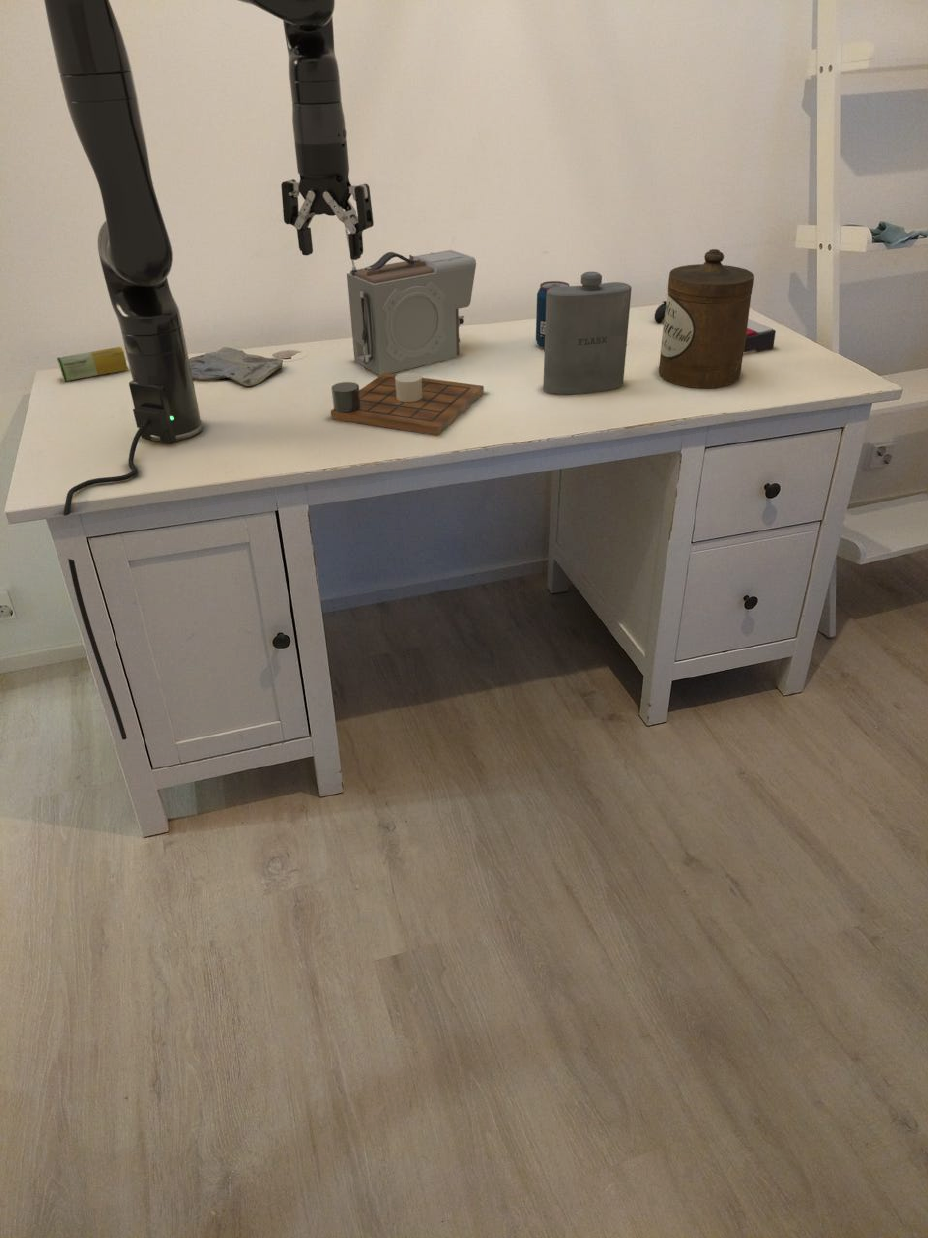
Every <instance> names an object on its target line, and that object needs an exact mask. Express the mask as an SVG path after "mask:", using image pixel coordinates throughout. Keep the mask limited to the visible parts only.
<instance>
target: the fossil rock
mask: <svg viewBox="0 0 928 1238" xmlns="http://www.w3.org/2000/svg"><path fill="white" fill-rule="evenodd" d="M189 362H190V367H191V372H192V377H193V381H194V380H196V381H197V380H198V381H199V380H200V381H218V380H222V379H227V378H228V379H231V380H232V381H235V382H236V383H238V384H240V385H242V386H244V387H245V386H246V387H253V386H255V385H259V384H260V383H261V382H263V381H264V380H265V379H267V378H268V377H269V376H270V375H272V374H273V373H275V372H276V371H278V370H279V369H280V368H282V367H283V363H284V359H282V358H277V357H276V358H275V357H265V356H262V355H258V354H247V353H246V352H245V351H243V350H241V349H237V348H232V347H228V346H227V347H221V348H220V349H218V350H216V351H211V352H206V353H204V354H200V355H197V356H192V357H189Z"/></svg>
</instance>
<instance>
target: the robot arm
mask: <svg viewBox="0 0 928 1238" xmlns="http://www.w3.org/2000/svg"><path fill="white" fill-rule="evenodd" d="M237 1H238V2H241V3H244V4H249V5H251V6H255V7H257V8H258V9H260V10H262V11H264V12H266V13H268V14H270V15H272V16H273V17H276V18H278V19H280V20H282V22H283V28H284V36H285V42H286V48H287V53H288V79H289V90H290V98H291V99H290V100H291V102H292V103H291V117H292V118H291V123H292V124H291V125H292V133H293V141H294V143H293V144H294V151H295V158H296V159H295V160H296V168H297V169H296V170H297V174H298V175H299V181H297V180H296V179H294V178H293V179H289V180H284V181H282V182H281V185H280V186H281V198H282V212H283V213H282V214H283V221H284V223H285V224H286V225H291V226H293V227H294V228H295V229H296V235H297V244H298V249H299V252H301V255H302V256H310V255H312V254H313V253H314V245H313V237H312V235H313V234H312V228H311V227H310V225H311V222H312V221H313V219H314V218H315V216H321V215H327V216H332V217H333V216H336V217H337V219H338V220H339V221H340V222H342V223H343V225H344V227H345V226H346V228H347V230H348V238H349V246H348V251H349V250H350V251H349V258H350V261H351V260H354V261H356V260H359V259H361V257H362V255H363V253H364V242H363V241H364V239H363V232H364V231H366V230H369V228H372V227H374V225H375V224H374V222H375V221H374V214H373V205H372V198H371V197H372V196H371V188H370V185H369V184H368V183H361V184H357V185H355V184H353V185H352V183H351V182H350V179H349V174H350V163H349V153H348V139H347V133H348V132H347V127H346V126H347V125H346V118H345V113H344V107H343V102H342V89H341V88H342V87H341V76H340V69H339V63H338V60H337V57H336V51H335V50H336V49H335V36H334V19H333V17H334V16H333V15H334V12H335V6H336V0H237ZM43 2H44V6H45V12H46V17H47V24H48V27H49V33H50V38H51V43H52V47H53V51H54V57H55V61H56V65H57V70H58V74H59V79H60V83H61V87H62V92H63V94H64V99H65V102H66V107H67V109H68V113H69V116H70V119H71V121H72V124H73V127H74V130H75V132H76V134H77V137H78V139H79V141H80V144H81V147H82V149H83V151H84V153H85V156H86V158H87V161H88V162H89V164H90V166H91V169H92V171H93V173H94V177H95V179H96V181H97V184H98V188H99V191H100V195H101V201H102V204H103V205H102V206H103V209H104V216H105V221H104V222H103V223H102V225H101V226H100V229H99V231H98V235H97V253H98V256H99V257H98V258H99V262H100V266H101V269H102V273H103V277H104V281H105V284H106V288H107V292H108V296H109V299H110V303H111V306H112V309H113V312H114V314H115V316H116V318H117V321H118V325H119V329H120V333H121V336H122V341H123V346H124V350H125V355H126V359H127V363H128V366H129V367H128V368H129V371H130V375H131V380H130V381H129V382H128V387H129V392H130V395H131V399H132V404H133V407H134V408H133V409H132V411H133V415H134V420H135V424H136V428H138V429H137V431H136V433H135V435H134V437H133V440H132V442H131V446H130V451H129V455H128V463H127V464H128V467H129V469H130V470H131V471H129V472H128V473H125V474H122V475H115V476H105V477H104V476H103V477H96V478H92V479H91V478H90V479H88V480H85V481H83V482H80V483H79V484H77V485H73V487H71V488H70V489H69V490H68V492H67V494H66V497H65V502H64V507H63V516H65V517H66V516H69V515H70V511H71V508H72V507H71V506H72V503H73V497H74V495H75V493H78V491H80V490H83V489H85V488H87V487H89V486H93V485H98V484H103V483H104V484H105V483H118V482H123V481H126V480H129V479H131V478H133V477H135V476H136V475H137V474H138V473H139V470H138V468H137V466H136V465H135V463H134V461H135V454H136V451H137V446H138V443H139V441H140V438H141V439H142V440H143V439H144V440H150V441H155V442H161V443H165V444H166V443H167V444H173V443H175V442H178V441H183V440H185V439H189V438H193V437H194V436H196V435H199V433H201V432H202V430H203V429H204V423H203V421H202V418H201V412H200V408H199V402H198V398H197V393H196V388H195V383H194V380H193V377H192V372H191V367H190V362H189V359H190V357H189V353H188V349H187V348H188V347H187V342H186V338H185V333H184V332H185V331H184V328H183V322H182V316H181V312H180V308H179V306H178V304H177V302H176V300H175V298H174V295H173V293H172V291H171V287H170V284H169V280H168V279H169V278H168V276H169V275H170V273H171V270H172V268H173V261H174V251H173V246H172V242H171V239H170V236H169V232H168V230H167V226H166V223H165V220H164V217H163V213H162V211H161V208H160V204H159V200H158V198H157V194H156V191H155V187H154V183H153V179H152V173H151V167H150V161H149V153H148V147H147V142H146V136H145V132H144V126H143V120H142V115H141V110H140V103H139V98H138V93H137V89H136V84H135V79H134V74H133V70H132V65H131V60H130V57H129V54H128V51H127V47H126V44H125V40H124V38H123V34H122V32H121V29H120V26H119V22H118V20H117V17H116V15H115V12H114V9H113V7H112V4H111V3H110V2H111V1H110V0H43ZM300 195H301V197H302V199H303V200H304V201H303V203H302V205H301V207H300V208H299V196H300ZM351 196H352V200H353V201H355V205H356V209H355V208H354V205H352V203H351V201H350V198H351ZM67 560H68V561H67V562H68V565H69V570H70V574H71V580H72V585H73V588H74V592H75V596H76V600H77V604H78V608H79V610H80V614H81V618H82V621H83V624H84V628H85V631H86V634H87V637H88V640H89V643H90V646H91V649H92V652H93V655H94V658H95V661H96V664H97V667H98V670H99V672H100V676H101V679H102V681H103V684H104V688H105V690H106V693H107V696H108V699H109V702H110V706H111V708H112V711H113V714H114V718H115V721H116V724H117V727H118V731H119V733H120V737H121V739H122V740H126V739H128V737H127V734H126V730H125V726H124V723H123V721H122V718H121V714H120V710H119V707H118V705H117V702H116V699H115V696H114V691H113V689H112V686H111V683H110V680H109V677H108V675H107V671H106V668H105V665H104V663H103V660H102V657H101V654H100V650H99V648H98V645H97V641H96V638H95V636H94V632H93V628H92V626H91V622H90V618H89V616H88V612H87V609H86V605H85V602H84V601H85V600H84V598H83V594H82V590H81V586H80V581H79V577H78V572H77V568H76V562H75V559H70V558H68V559H67Z"/></svg>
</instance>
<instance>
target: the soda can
mask: <svg viewBox="0 0 928 1238" xmlns="http://www.w3.org/2000/svg"><path fill="white" fill-rule="evenodd" d="M559 286H570V283H568V282H565V281H559V280H550V281H549V280H548V281H544V282H542V283H540V284H539V289H538V290H537V293H536V313H535V314H536V315H535V316H536V319H535V342H536V343H537V345H538V347H539V348H540V349H543V350H545V326H546V297H547V290H548V289H550V288H553V287H559Z"/></svg>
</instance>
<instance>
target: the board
mask: <svg viewBox="0 0 928 1238" xmlns="http://www.w3.org/2000/svg"><path fill="white" fill-rule="evenodd" d="M397 375H399V374H397V373H383V374H382V375H381V376H380V375H378V376H377V377H376V378H374V379H373V380H372V381H371V382H369V383H368V384H366V385H365V386H363V387H362V388H360V389H359V395H360V408H359V409H358V410H356V411H352V412H338V411H335V410H334V408H331V410H330V417H331V420H336V421H343V422H349V423H354V424H362V425H368V426H375V427H380V428H381V427H382V428H387V429H395V430H401V431H407V432H411V433H412V432H414V433H420V434H426V435H432V436H439V435H440V434H441V433H442V432H444V430H446V429H447V428H448V427H449V426H450V425H451V424H452V423H453V422H455V420H457V419H458V418H460V416H461V415H462V414H463V413H464V412H466V411H467V410H468V409H469V408H470V407H471V406H472V405H473V404H474V403H475V402H477V401H478V400H479V399H480V398H481V397H483V396H484V394H485V386H484V385H480V384H471V383H466V382H458V381H450V380H444V379H443V380H442V379H435V378H427V377H422V394H423V397H422V399H420V400H418V401H415V402H402V401H399V400H397V398H396V386H395V377H396V376H397Z"/></svg>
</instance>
